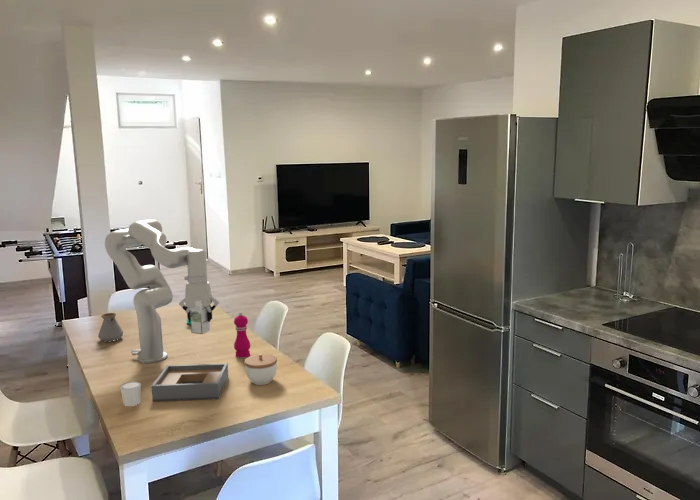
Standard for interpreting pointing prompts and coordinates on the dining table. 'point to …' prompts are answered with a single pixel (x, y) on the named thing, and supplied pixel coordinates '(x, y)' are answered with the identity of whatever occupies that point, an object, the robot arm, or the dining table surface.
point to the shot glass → (131, 393)
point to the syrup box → (199, 319)
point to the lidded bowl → (261, 368)
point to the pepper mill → (241, 337)
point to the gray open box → (190, 382)
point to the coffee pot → (110, 328)
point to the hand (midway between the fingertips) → (200, 320)
